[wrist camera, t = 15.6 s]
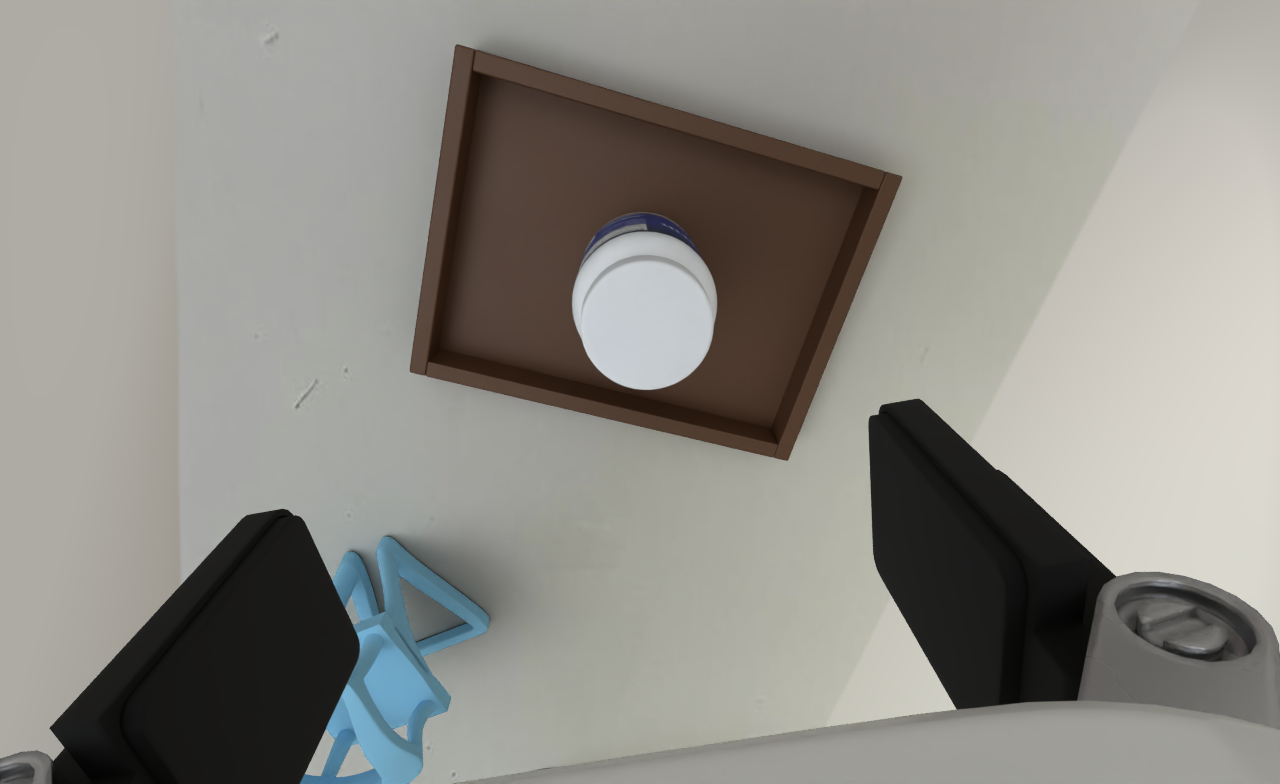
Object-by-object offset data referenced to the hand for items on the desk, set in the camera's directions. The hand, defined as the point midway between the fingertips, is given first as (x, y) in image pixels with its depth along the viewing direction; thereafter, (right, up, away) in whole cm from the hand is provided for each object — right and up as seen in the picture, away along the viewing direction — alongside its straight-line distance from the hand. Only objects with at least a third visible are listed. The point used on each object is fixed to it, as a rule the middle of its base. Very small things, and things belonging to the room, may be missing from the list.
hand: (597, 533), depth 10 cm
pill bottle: (+1, +8, +21) cm, 23 cm away
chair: (-14, -10, +29) cm, 34 cm away
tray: (+1, +8, +21) cm, 23 cm away
